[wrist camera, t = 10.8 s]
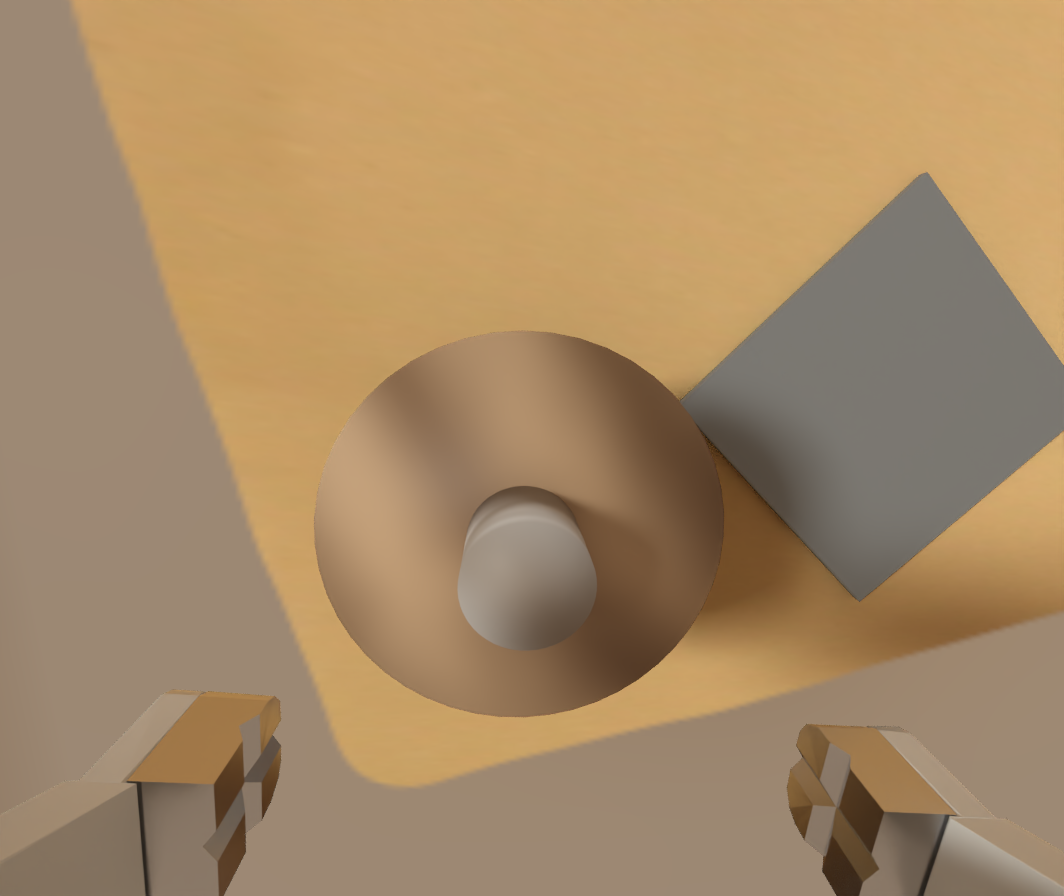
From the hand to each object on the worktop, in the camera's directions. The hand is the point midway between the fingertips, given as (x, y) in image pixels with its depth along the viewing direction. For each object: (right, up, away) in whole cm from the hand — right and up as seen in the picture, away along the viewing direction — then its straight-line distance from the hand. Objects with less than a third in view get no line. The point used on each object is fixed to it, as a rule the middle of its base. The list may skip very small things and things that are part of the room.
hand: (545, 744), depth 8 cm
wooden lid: (-1, +2, +10) cm, 10 cm away
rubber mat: (+19, +7, +20) cm, 28 cm away
